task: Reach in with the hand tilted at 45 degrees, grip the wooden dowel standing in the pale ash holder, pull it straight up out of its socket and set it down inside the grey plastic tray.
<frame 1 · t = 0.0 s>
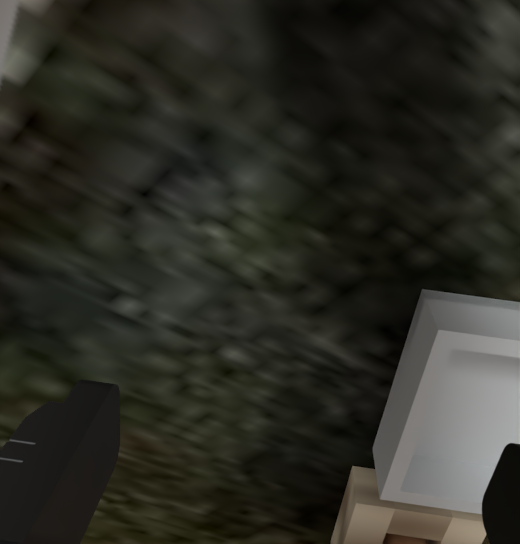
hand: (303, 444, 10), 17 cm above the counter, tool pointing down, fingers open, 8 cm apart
tray: (498, 391, 30), on the counter
dowel holder: (399, 514, 37), on the counter
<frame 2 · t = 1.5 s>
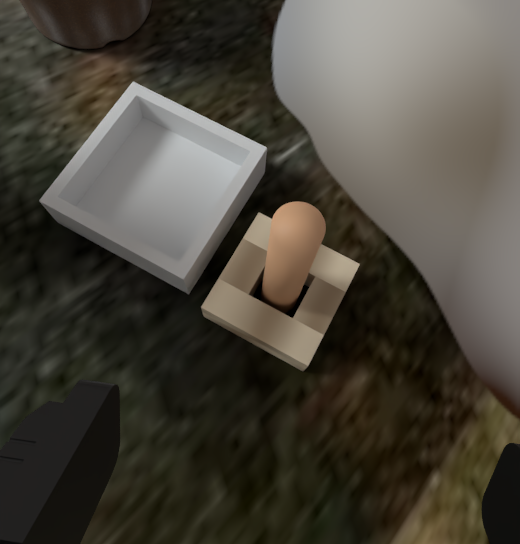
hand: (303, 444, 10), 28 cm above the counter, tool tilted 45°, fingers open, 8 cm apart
dowel: (286, 268, 33), in the dowel holder
tray: (163, 197, 42), on the counter
plant pot: (92, 4, 49), on the counter
dowel holder: (279, 296, 40), on the counter
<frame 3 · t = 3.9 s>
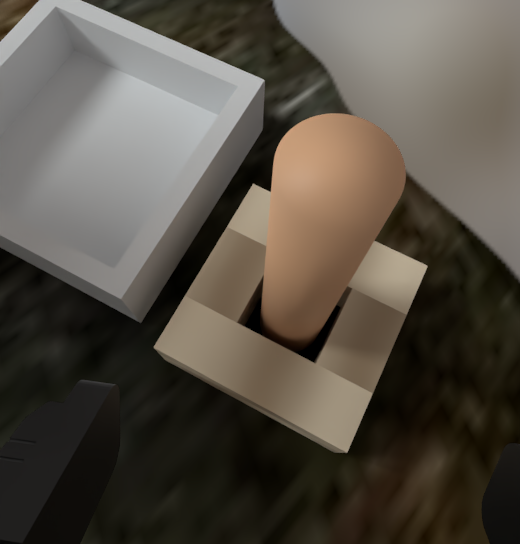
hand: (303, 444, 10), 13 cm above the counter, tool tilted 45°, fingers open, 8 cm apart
dowel: (305, 274, 18), in the dowel holder
tray: (105, 168, 27), on the counter
dowel holder: (290, 322, 24), on the counter
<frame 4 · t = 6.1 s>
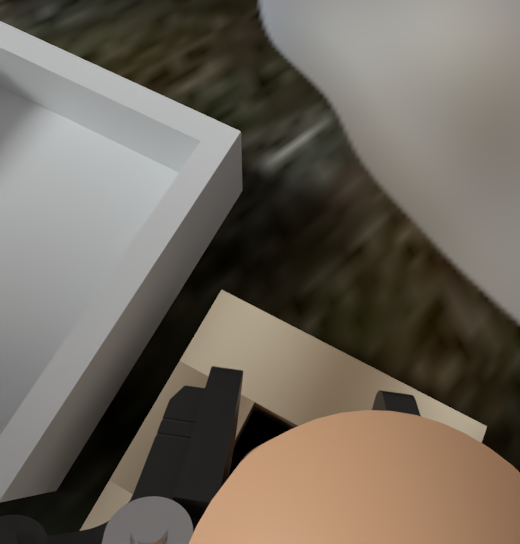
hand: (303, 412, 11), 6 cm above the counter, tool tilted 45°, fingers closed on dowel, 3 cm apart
dowel: (295, 514, 10), in the dowel holder, touching gripper
tray: (19, 248, 19), on the counter
dowel holder: (276, 488, 16), on the counter
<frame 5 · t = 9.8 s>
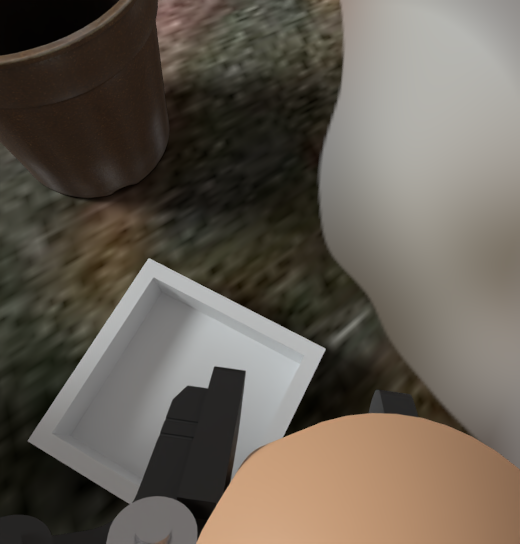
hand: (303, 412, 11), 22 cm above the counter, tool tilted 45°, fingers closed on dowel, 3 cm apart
dowel: (298, 515, 10), point 23 cm above the counter, touching gripper
tray: (190, 400, 33), on the counter
plant pot: (98, 136, 41), on the counter
when the fingers open (9 cm above the counter, at t = 13.2 s): dowel drops 1 cm, resting on tray.
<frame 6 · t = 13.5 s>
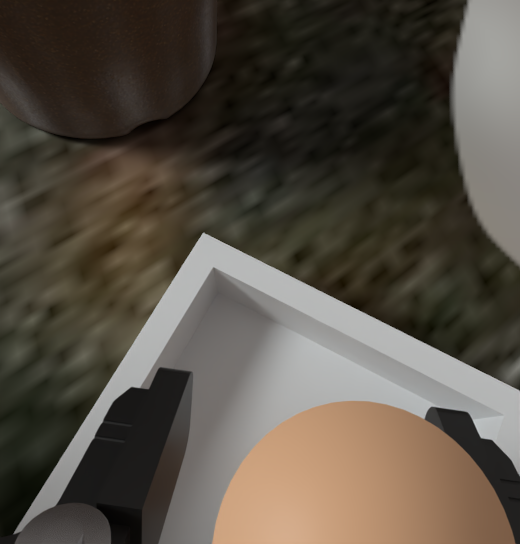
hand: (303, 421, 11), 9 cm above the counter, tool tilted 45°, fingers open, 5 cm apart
dowel: (294, 503, 11), in the tray, point 8 cm above the counter
tray: (273, 483, 19), on the counter
plant pot: (105, 48, 26), on the counter
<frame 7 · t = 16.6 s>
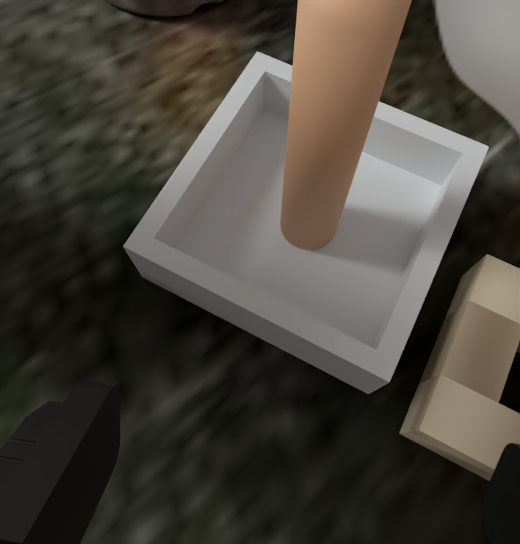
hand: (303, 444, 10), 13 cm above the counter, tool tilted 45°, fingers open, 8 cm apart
dowel: (324, 144, 19), in the tray, point 8 cm above the counter
tray: (306, 231, 27), on the counter
dowel holder: (519, 392, 24), on the counter
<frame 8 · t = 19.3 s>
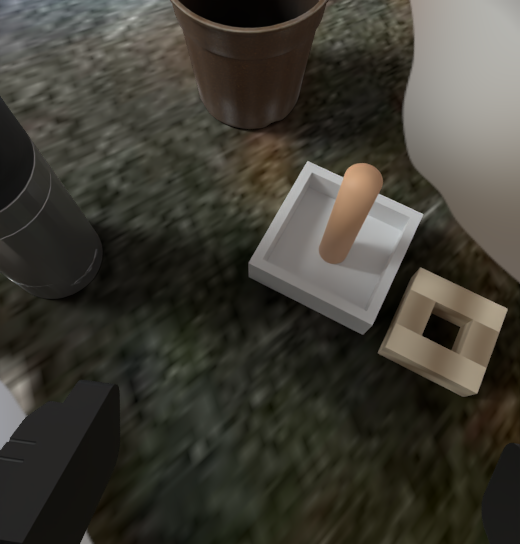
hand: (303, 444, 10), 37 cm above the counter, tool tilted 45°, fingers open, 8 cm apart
dowel: (346, 220, 44), in the tray, point 8 cm above the counter
tray: (331, 253, 51), on the counter
plant pot: (249, 89, 59), on the counter
dowel holder: (436, 334, 49), on the counter
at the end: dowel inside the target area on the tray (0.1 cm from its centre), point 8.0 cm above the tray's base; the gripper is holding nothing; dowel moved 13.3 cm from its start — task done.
